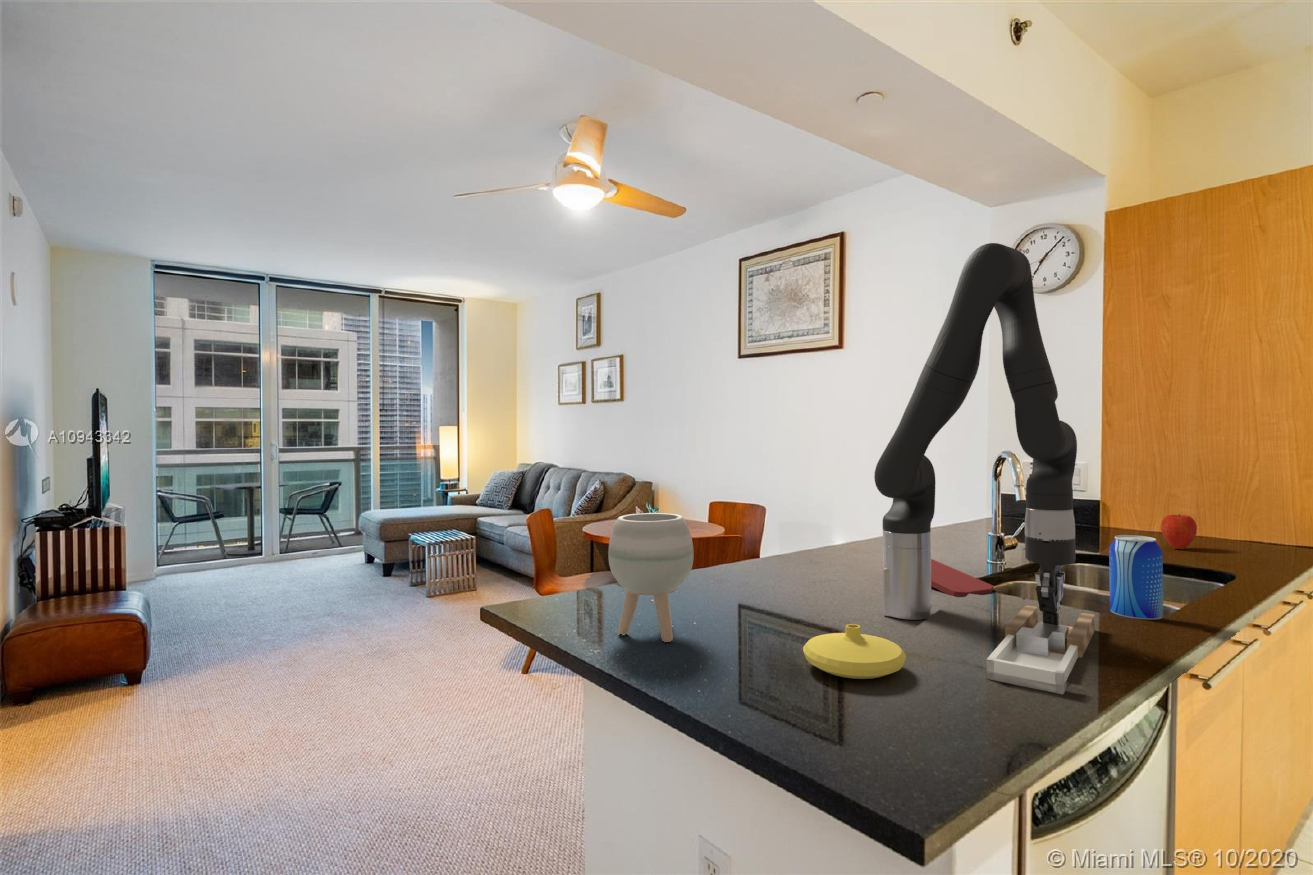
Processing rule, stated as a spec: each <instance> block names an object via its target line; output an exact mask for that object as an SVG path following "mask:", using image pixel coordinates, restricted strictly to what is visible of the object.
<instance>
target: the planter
mask: <svg viewBox="0 0 1313 875" xmlns="http://www.w3.org/2000/svg"><path fill="white" fill-rule="evenodd" d="M689 528H690V527H689V525H688V524H687V521H686V519H685V518H684V516H683V515H681V514H676V513H669V512H668V513H665V512H646V513H645V512H644V513H643V512H642V513H641V512H640V513H631V514H624V515H621V516H618V518H616V521H615V522H614V525H613V527H612V530H611V534H610V536H609V537H610V538H609V543H608V551H607V552H608V553H607V554H608V565H609V568H610V571H611V573H612V576H613V577H614V578H615V580H616V581H617V582H618V583H619V585H620V586H621V587H622V588H624V589H625V591H626V592H625V598H624V602H623V607H622V611H621V615H620V619H619V623H618V628H617V634H619V633H621V634H627V633H628V634H629V633H630V629H631V626H632V624H633V623H632V622H633V620H634V617H635V613H636V610H637V606H638V602H639V599H640V596H653V600H654V605H655V610H656V617H657V623H658V627H659V633H660V638H661V640H662V642H663V641H664V642H663V643H665V642H670V643H672V642H671V641H674V640H673V639H674V633H673V626H672V623H673V622H672V614H671V605H670V598H669V594H670V593H674V592H676V591H678V589H679V587H680V586H682V584H683V583H684V582H685V581H686V580H687V578H688V577H689V575H690V573H691V571H692V568H693V565H694V544H693V539H692V538H693V537H692V535H691V532H690V529H689ZM628 634H627V635H628Z"/></svg>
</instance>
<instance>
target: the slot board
mask: <svg viewBox="0 0 1313 875" xmlns="http://www.w3.org/2000/svg"><path fill="white" fill-rule="evenodd" d="M1038 609H1039V606H1032V605H1025V606H1023V608H1022V609H1021V610H1020V611H1019V612H1018V613H1017V614H1016V615H1015V616H1014V617H1013V619H1011V621H1009V623H1008V624H1007V625H1006V626H1005V627H1004V638H1005V637H1006V636H1007V635H1008V634H1010V635H1015V646H1016V633H1017V632H1018V631H1019V630H1020V629H1021V627H1026V628H1034V627H1035V626H1036V624H1037V623H1038V622H1040V623H1043V621H1038V620H1039V618H1038V616H1039V614H1038V613H1039V610H1038ZM1095 617H1096V615H1095V614H1094V613H1093V614H1090V613H1085V612H1081V613H1080V614H1079V616H1078V618H1077V620H1076V621H1075V623H1074V625H1073V626H1068V625H1066V626H1067V627H1069V635H1068V637H1067V649H1066V650H1065V652H1064V651H1058V650H1052V652H1053V653H1058V654H1064V655H1065V653H1066V652H1067V650H1068V648H1069V646H1070V644H1071V645H1077V646H1078V658H1080V659H1082V658H1083V656H1084V654H1085V652H1086V650H1087V648H1088V646H1089V644H1090V642H1091V639H1092V638H1093V635H1094V633H1095V631H1096V626H1095V625H1096V623H1095V622H1096V621H1095V620H1096V618H1095ZM1059 625H1060V626H1064V625H1062V624H1059Z"/></svg>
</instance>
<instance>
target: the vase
mask: <svg viewBox="0 0 1313 875" xmlns="http://www.w3.org/2000/svg"><path fill="white" fill-rule="evenodd" d="M802 650H803V654H804V656H805V659H806V661H807V662H808V663H809V664H810V665H812V666H814V667H816V668H818V669H819V670H821V671H823V672H826V673H828V674H830V675H832V676H837V677H841V678H845V679H847V678H848V679H852V680H853V679H854V680H856V679H857V680H868V679H870V680H871V679H876V678H882V677H885V676H887V675H890V674H893V673H895V672H898V671H899V670H902V668H903V666H904V664H905V662H906V658H907V655H906V653H905V652H904V650H903V649H902V648H901V646H900V645H898V644H897V643H895V642H893V641H891V640H889V639H886V638H884V637H879V636H876V635H871V634H865V633H861V625H859V624H855V623H849V624H848V623H847V624H845V632H831V633H825V634H824V633H823V634H820V635H817V636H813V637H812V638H810V639H808V641H807V642H806V643H805V644H804V646H803V647H802Z"/></svg>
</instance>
